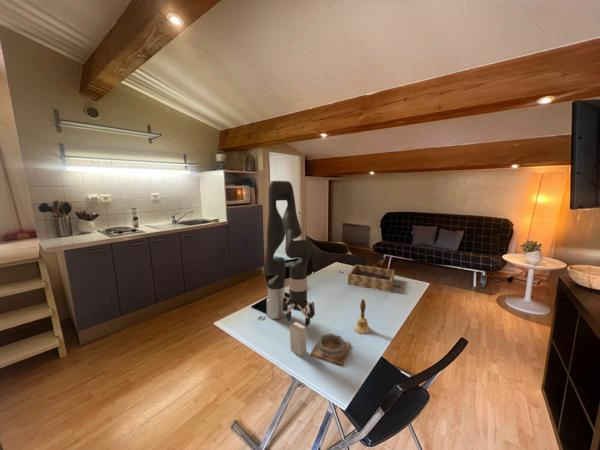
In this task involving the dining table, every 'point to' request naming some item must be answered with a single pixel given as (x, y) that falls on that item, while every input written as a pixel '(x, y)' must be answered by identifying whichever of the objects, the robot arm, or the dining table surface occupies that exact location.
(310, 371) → the dining table surface
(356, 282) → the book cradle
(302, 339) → the skincare box
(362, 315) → the hand bell
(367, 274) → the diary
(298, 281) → the robot arm
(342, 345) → the collar dock
